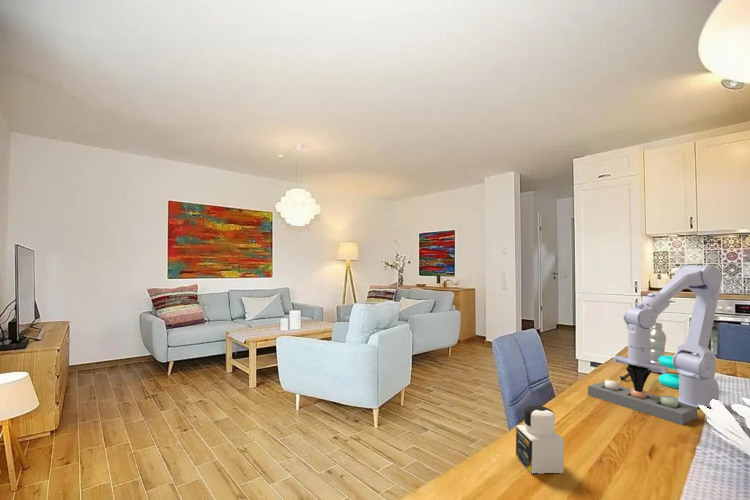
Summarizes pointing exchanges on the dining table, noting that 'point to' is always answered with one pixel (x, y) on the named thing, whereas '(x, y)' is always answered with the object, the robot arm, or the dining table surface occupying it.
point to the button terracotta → (639, 394)
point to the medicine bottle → (539, 442)
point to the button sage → (669, 401)
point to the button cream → (612, 385)
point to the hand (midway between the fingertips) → (638, 390)
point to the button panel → (644, 404)
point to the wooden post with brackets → (624, 377)
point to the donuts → (668, 379)
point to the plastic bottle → (657, 343)
